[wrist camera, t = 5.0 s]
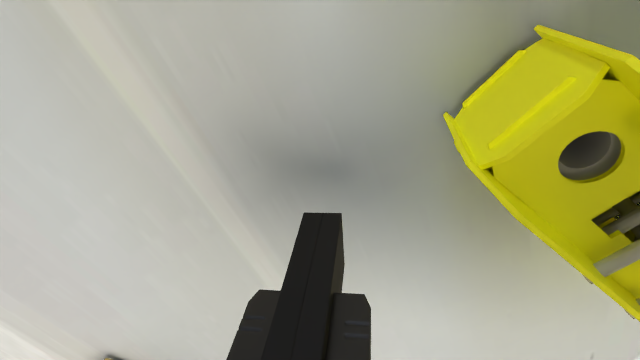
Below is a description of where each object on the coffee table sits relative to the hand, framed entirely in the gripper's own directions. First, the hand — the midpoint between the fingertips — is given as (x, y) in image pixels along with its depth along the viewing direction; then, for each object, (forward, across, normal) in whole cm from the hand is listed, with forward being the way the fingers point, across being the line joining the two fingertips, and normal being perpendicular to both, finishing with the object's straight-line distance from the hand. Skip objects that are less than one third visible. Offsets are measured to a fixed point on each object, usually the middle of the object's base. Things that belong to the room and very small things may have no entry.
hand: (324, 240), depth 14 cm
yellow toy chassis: (+6, +13, 0) cm, 14 cm away
